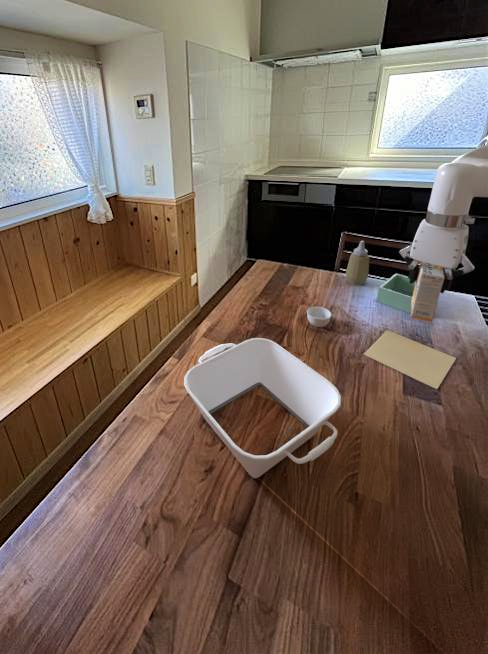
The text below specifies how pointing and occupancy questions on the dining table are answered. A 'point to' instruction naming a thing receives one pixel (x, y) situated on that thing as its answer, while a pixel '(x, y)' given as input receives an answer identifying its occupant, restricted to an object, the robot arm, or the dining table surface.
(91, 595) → the dining table surface
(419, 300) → the supplement box
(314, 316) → the teacup
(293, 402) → the tub
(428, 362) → the mat
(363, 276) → the squeeze bottle
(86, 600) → the dining table surface
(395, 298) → the box
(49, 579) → the dining table surface
